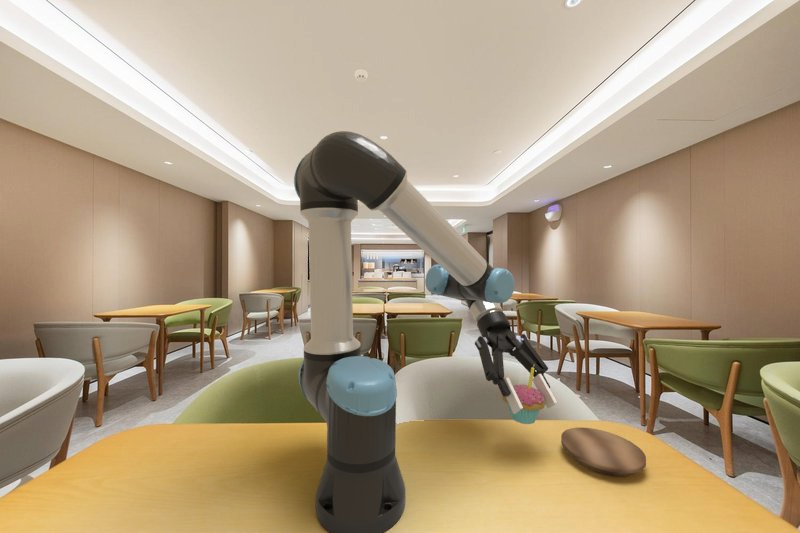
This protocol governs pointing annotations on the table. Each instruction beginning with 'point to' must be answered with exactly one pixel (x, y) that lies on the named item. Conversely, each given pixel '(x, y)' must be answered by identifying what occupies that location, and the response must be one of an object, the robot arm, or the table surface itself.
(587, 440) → the brown plate
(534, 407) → the cupcake
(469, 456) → the table surface
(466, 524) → the table surface
